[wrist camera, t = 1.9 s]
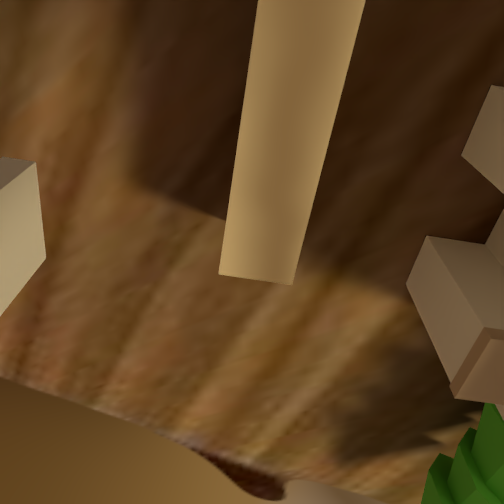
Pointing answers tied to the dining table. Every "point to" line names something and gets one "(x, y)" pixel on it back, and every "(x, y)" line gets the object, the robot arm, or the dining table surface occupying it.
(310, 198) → the rail
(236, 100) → the dining table surface
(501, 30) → the dining table surface
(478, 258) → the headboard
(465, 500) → the decorative tree
